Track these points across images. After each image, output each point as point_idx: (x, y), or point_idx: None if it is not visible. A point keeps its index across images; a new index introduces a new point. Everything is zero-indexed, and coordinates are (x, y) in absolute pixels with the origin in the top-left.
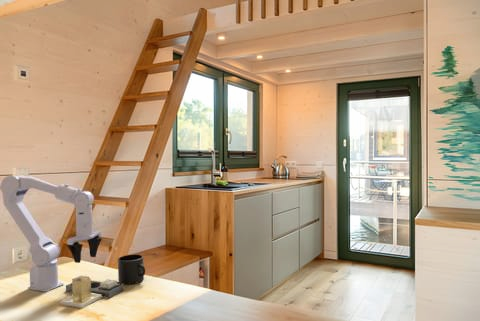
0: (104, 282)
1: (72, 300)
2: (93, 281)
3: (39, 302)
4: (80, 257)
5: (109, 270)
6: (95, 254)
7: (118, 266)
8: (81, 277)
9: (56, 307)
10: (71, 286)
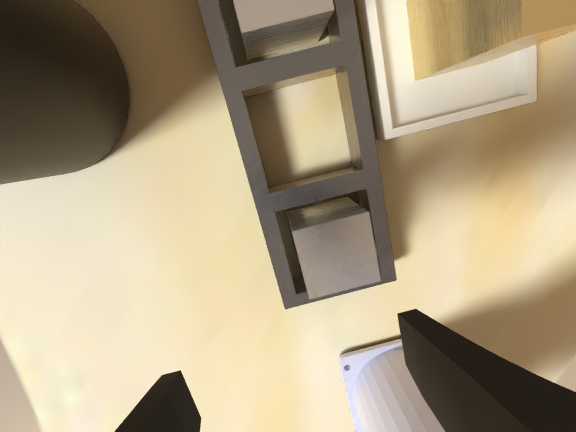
0: None
1: (471, 83)
2: (267, 206)
3: (533, 226)
4: (437, 343)
5: (54, 375)
6: (157, 393)
7: (43, 104)
8: (536, 18)
9: (550, 85)
10: (389, 240)
